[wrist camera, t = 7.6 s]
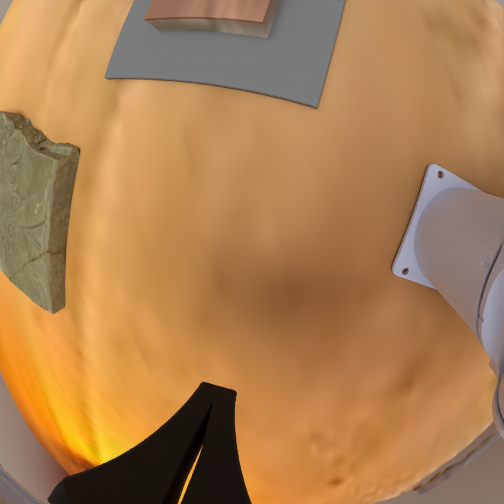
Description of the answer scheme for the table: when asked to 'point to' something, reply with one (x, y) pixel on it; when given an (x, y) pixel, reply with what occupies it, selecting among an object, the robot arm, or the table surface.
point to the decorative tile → (35, 209)
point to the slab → (214, 16)
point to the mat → (236, 52)
